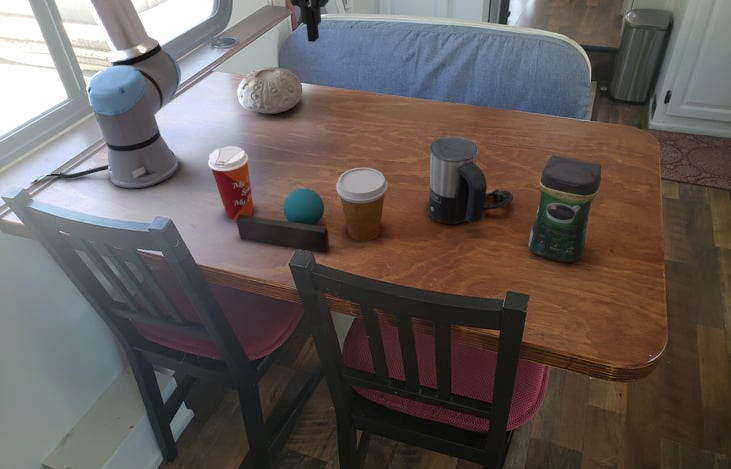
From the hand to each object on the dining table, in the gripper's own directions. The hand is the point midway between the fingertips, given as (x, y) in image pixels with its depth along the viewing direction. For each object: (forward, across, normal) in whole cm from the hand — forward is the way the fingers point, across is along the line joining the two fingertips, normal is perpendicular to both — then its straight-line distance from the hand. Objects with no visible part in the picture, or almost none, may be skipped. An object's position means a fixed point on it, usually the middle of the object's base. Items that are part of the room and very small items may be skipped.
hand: (313, 39), depth 117 cm
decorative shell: (+27, -22, +18) cm, 39 cm away
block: (+26, +5, -37) cm, 46 cm away
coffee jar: (+27, +55, -27) cm, 67 cm away
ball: (+22, +7, -31) cm, 39 cm away
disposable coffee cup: (+27, +19, -30) cm, 44 cm away
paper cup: (+27, -8, -30) cm, 41 cm away
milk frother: (+27, +38, -18) cm, 50 cm away
